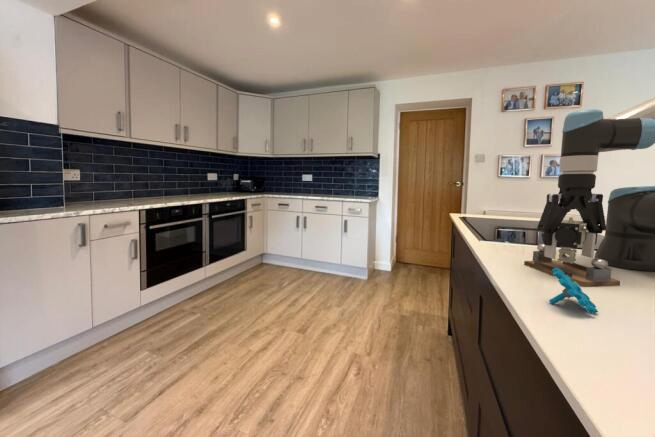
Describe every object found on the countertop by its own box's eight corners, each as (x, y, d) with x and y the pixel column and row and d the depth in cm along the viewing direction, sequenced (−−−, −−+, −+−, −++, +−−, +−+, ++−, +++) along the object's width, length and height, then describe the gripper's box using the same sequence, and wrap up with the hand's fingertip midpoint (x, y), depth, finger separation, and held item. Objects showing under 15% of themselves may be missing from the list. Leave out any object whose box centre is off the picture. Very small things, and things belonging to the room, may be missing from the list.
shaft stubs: (546, 260, 91) (547, 243, 90) (610, 281, 72) (612, 260, 72) (532, 260, 91) (534, 243, 90) (593, 281, 72) (595, 260, 71)
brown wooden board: (553, 264, 91) (554, 257, 91) (619, 285, 73) (620, 276, 72) (524, 264, 91) (524, 257, 90) (582, 286, 72) (583, 278, 72)
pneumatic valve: (551, 264, 79) (555, 218, 78) (560, 256, 87) (564, 215, 86) (578, 268, 75) (583, 220, 74) (585, 260, 83) (589, 216, 82)
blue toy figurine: (600, 315, 53) (555, 267, 58) (567, 330, 56) (527, 283, 61) (602, 305, 61) (562, 263, 66) (573, 319, 64) (537, 278, 69)
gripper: (602, 173, 83) (594, 252, 86) (525, 173, 81) (518, 254, 84) (632, 173, 76) (621, 259, 78) (547, 172, 74) (539, 261, 76)
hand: (568, 257), depth 81 cm, fingers closed on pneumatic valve, 10 cm apart
